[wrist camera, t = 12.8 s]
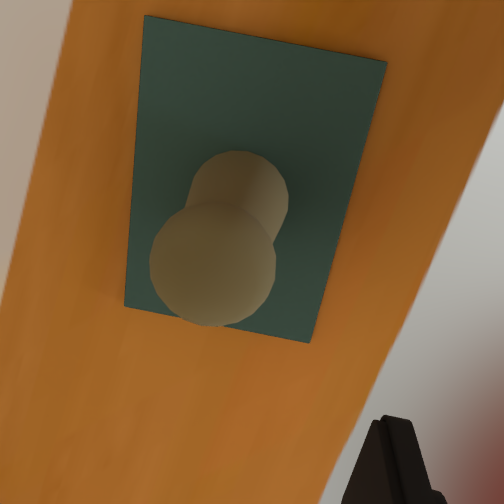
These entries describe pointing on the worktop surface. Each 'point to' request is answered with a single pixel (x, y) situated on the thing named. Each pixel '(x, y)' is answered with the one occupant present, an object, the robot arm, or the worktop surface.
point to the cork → (221, 241)
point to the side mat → (250, 150)
